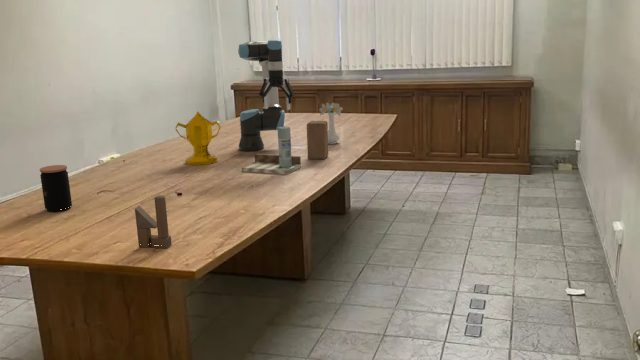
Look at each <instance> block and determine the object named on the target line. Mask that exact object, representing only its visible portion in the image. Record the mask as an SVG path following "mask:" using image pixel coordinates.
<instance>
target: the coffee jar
mask: <svg viewBox="0 0 640 360" xmlns="http://www.w3.org/2000/svg"><path fill="white" fill-rule="evenodd" d="M67 169H68V167H67V165H65V164H53V165H47V166H43V167H40V168H39V172H40V174H39V175H40V184H41V189H42V191H41V192H42V196H43V198H42V199H43V202H44V204H43V205H44V209H45V210H46V209H47V210H46V211H47V212H48V213H61V212H65V211H69V210H70V209H71V208H72V205H73V201H72V193H71V186H70V181H69V180H70V179H69V172H68V171H67ZM70 206H71V207H70ZM68 207H69V208H68ZM65 208H66V209H65ZM60 209H62V210H60Z"/></svg>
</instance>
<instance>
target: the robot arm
mask: <svg viewBox="0 0 640 360" xmlns="http://www.w3.org/2000/svg"><path fill="white" fill-rule="evenodd" d="M237 51H238V56H239V58H240V59H243V60H246V61H250V62H251V61H252V62H258V64H259V66H261V71H262V72H261V73H262V86H261V88H260V91H259V93H258V94H259V95H258V96H261V97H262V103H264V104H263V105H264V106H263V107H262V110H261V111H260V109H259V108H255V109H254V108H252V109H248V110H244V111H241V112H240V113H239V125H240V139H239V143H238V150H239V151H241V152H256V151H261V150H264V149H265V144H264V141H263V139H262V136H261V135H262V134H261V132H266V131H269V132H270V131H278V129H277V128H278V127H284V125H285V119H286V118H285V114H286V113H285V110H284V109H283V107H282V106H281V105H280V103H279V101H280V100H279V89H278V88H280V89H281V91H282V92H283V93H284V94H285V95H286V96H287V97H286V110H287V111H290V110H291V104H292V100H293V99H292V98H293V97H295V95H296V94H295V91H294V90H293V87H292V86H291V84H290V80H289V78H285V79H284V73H283V72H284V71H283V45H282V40H281V39H268V40H257V41H256V40H252V41H247V42H244V43H239V44H238V49H237Z"/></svg>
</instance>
